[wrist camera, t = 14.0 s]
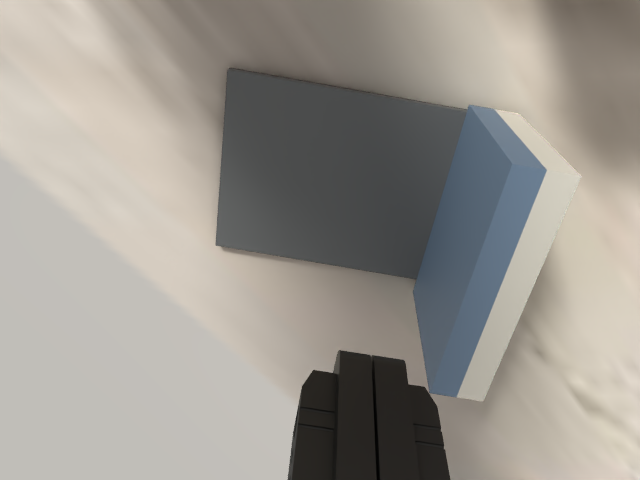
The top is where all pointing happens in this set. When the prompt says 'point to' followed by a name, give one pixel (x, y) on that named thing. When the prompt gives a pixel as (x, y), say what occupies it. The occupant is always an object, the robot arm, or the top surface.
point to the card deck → (487, 247)
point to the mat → (332, 172)
